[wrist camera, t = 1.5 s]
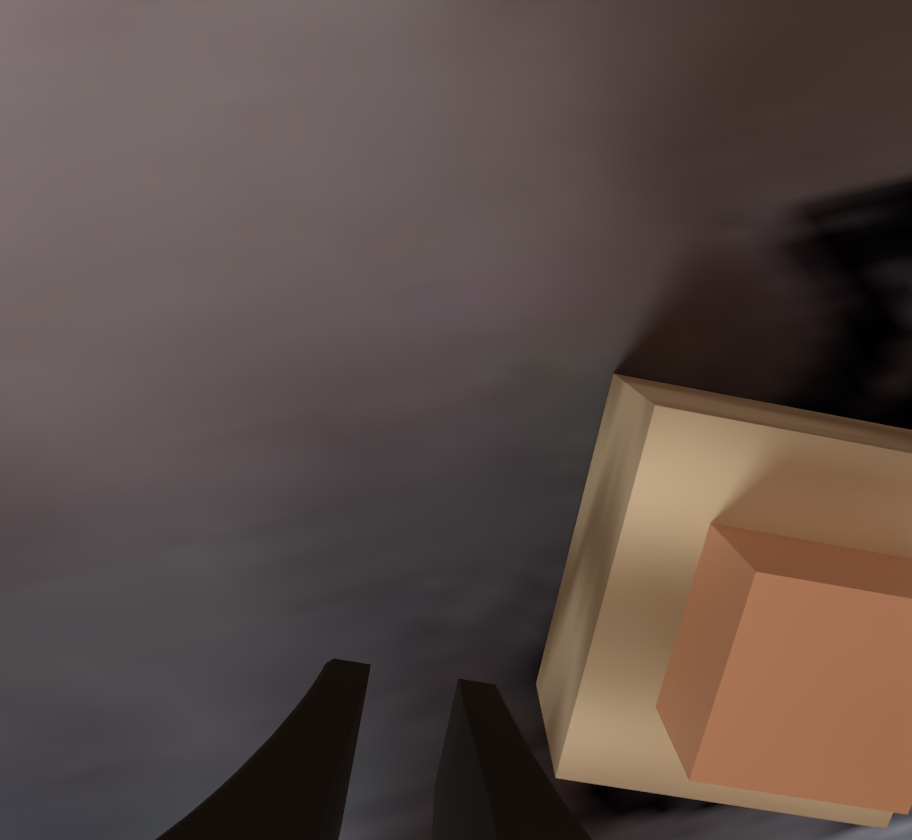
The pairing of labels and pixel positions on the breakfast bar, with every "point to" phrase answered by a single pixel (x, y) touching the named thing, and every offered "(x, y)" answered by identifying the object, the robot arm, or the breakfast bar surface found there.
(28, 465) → the breakfast bar surface
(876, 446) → the beige bevelled block
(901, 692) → the terracotta-coloured block
